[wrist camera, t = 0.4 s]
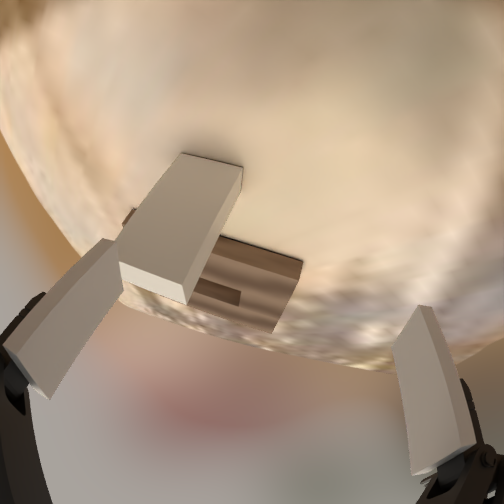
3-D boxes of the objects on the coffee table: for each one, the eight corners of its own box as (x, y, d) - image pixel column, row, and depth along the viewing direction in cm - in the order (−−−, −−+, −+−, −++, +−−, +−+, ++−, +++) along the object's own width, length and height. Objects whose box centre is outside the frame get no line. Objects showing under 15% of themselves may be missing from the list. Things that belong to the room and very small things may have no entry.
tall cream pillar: (180, 153, 24) (105, 255, 17) (242, 167, 24) (182, 285, 17) (182, 177, 27) (117, 277, 20) (240, 192, 26) (186, 305, 19)
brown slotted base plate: (132, 209, 34) (121, 223, 32) (303, 262, 32) (298, 280, 30) (155, 279, 48) (149, 290, 47) (275, 320, 46) (271, 333, 45)
